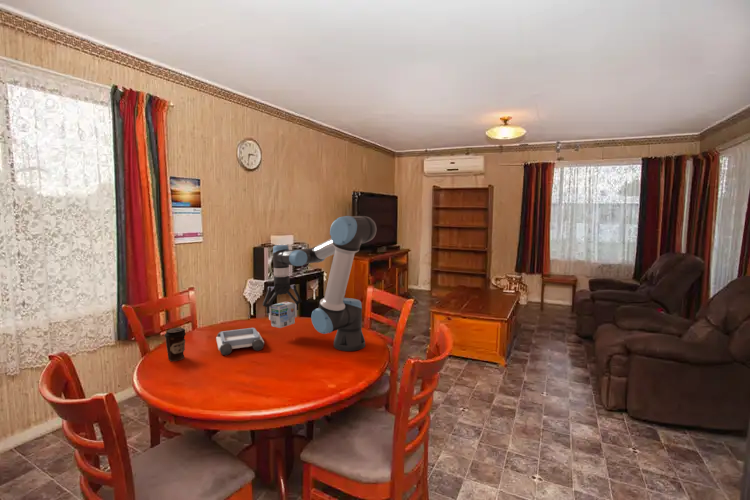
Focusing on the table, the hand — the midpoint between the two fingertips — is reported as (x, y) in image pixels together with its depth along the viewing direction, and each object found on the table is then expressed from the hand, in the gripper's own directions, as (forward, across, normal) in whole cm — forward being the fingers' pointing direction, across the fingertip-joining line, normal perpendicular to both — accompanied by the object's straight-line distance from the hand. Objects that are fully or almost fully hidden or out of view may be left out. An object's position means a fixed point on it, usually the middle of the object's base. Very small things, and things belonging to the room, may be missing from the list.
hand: (283, 318), depth 197 cm
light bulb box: (+4, 0, 0) cm, 4 cm away
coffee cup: (+11, +48, +7) cm, 50 cm away
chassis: (+11, +21, +1) cm, 24 cm away
